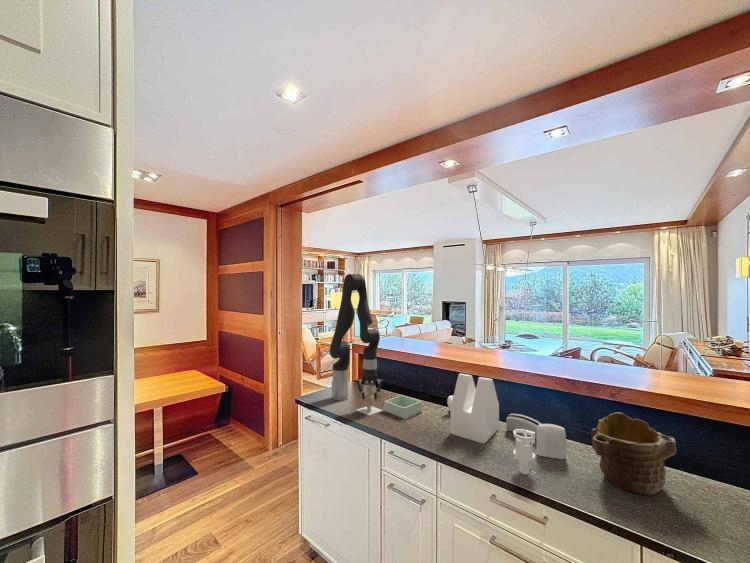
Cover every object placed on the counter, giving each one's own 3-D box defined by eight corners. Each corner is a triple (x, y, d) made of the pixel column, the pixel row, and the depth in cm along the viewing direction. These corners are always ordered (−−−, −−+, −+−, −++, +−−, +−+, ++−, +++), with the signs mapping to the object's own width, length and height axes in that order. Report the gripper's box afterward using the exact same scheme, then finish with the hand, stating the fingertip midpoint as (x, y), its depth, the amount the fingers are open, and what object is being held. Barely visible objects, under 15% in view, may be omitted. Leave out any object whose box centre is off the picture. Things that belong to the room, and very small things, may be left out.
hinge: (548, 439, 143) (545, 419, 141) (544, 446, 140) (541, 426, 138) (511, 426, 155) (507, 408, 153) (506, 432, 152) (503, 414, 150)
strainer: (533, 480, 113) (533, 436, 113) (511, 473, 116) (511, 431, 117) (536, 470, 119) (535, 428, 119) (515, 464, 122) (515, 424, 123)
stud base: (355, 411, 173) (355, 396, 173) (369, 406, 180) (369, 392, 180) (368, 417, 166) (368, 401, 166) (382, 412, 173) (382, 396, 173)
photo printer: (564, 455, 129) (564, 424, 129) (567, 461, 125) (567, 428, 125) (535, 451, 132) (535, 420, 132) (537, 456, 128) (537, 425, 128)
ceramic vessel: (673, 498, 90) (611, 408, 105) (602, 511, 107) (557, 431, 122) (713, 477, 100) (651, 397, 114) (642, 492, 117) (596, 420, 131)
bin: (383, 412, 172) (384, 401, 172) (401, 405, 182) (401, 394, 182) (404, 420, 162) (404, 408, 162) (421, 412, 172) (421, 401, 172)
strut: (364, 406, 171) (364, 383, 171) (364, 402, 176) (365, 380, 176) (374, 406, 171) (374, 383, 171) (374, 403, 176) (374, 380, 176)
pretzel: (458, 419, 163) (458, 401, 163) (440, 411, 173) (440, 394, 173) (473, 414, 170) (473, 397, 170) (455, 407, 180) (455, 391, 180)
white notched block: (467, 420, 163) (467, 369, 164) (498, 428, 154) (498, 375, 154) (450, 433, 148) (450, 378, 148) (484, 444, 139) (484, 384, 139)
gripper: (355, 368, 170) (355, 401, 169) (383, 369, 169) (383, 402, 169) (356, 365, 177) (356, 396, 177) (383, 365, 177) (383, 397, 177)
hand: (369, 399), depth 173 cm, fingers closed on strut, 5 cm apart
